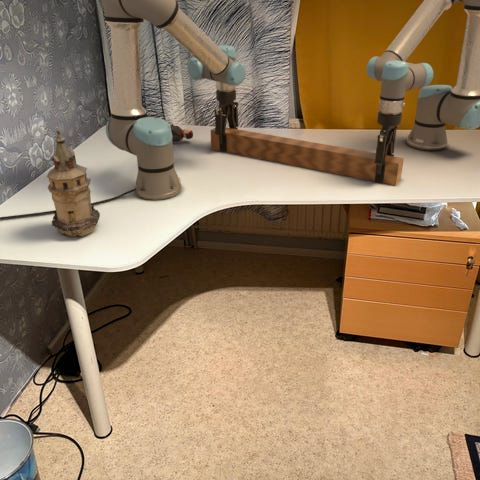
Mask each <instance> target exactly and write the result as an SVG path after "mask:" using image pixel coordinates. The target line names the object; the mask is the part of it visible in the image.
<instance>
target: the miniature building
mask: <svg viewBox="0 0 480 480" xmlns="http://www.w3.org/2000/svg"><path fill="white" fill-rule="evenodd" d="M56 134H57V136H56V138H55V140H54V141H55V142H56V147H55V154H54V156H52V157H51V161H52V162H53V165H54V167H53V168H51V169H50V170H49V171H48V173H47V174H46V178H47V179H48V182H49V184H48V186H47V190H48V191H49V193H50V194H51V200H52V201H53V205H54V210H56V211H55V212H54V213H53V217H52V220H51V223H52V225H51V227H54V228H56V229H58V230H59V231H60V234H63V235H64V234H65V235H66V236H69V237H77V236H80V237H83V236H87V235H88V234H90V233H93V232H94V231H95V229H96V226H97V225H98V223H99V220H100V216H101V213H100V212H99V210H98V209H96V208H95V205H94V204H93V205H91V203H92V201H91V200H92V199H91V198H92V197H91V192H92V191H91V188H90V184H91V178H89V177H88V174H87V167H85V166H84V165H83V166H82V165H80V164H77V160H76V154H75V151H74V150H70V149H69V147H68V145H67V143H66V138H65V137H64V136H63V135H61V130H60V129H56Z"/></svg>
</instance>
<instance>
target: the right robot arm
mask: <svg viewBox="0 0 480 480" xmlns="http://www.w3.org/2000/svg"><path fill="white" fill-rule="evenodd" d="M457 2H464V7H463V10H464V11H465V13H466V14H467V17H466V23H465V30H464V36H463V42H462V48H461V55H460V61H459V65H458V73H457V79H456V85H455V86H453V87H452V86H451V85H448V84H432V85H430V84H431V82H432V81H433V78H434V70H433V67H432V66H431V65H430V64H429V63H426V62H418V63H412V62H407V59H408V58H409V57H410V56H411V55H412V53H413V52H414V50H416V48H417V47H418V45H419V44H420V43H421V42H422V40H423V39H424V37H425V36H426V35H427V34H428V32H429V31H430V30H431V28H433V26H434V25H435V23H436V22H437V20H439V18H440V17H441V15H442V14H443V13H444V11H447V10H449V9H450V8H451V7H452V6H453V5H454V4H455V3H457ZM366 74H367V76H368V78H370V79H372V80H374V81H377V82H381V85H380V95H379V101H378V109H377V110H378V112H377V120H376V123H377V124H378V125H380V126H381V129H380V131H379V134H378V135H377V143H376V150H375V153H376V157H375V162H374V163H375V164H377V165H376V173H375V181H376V182H375V181H374V182H375V183H380V182H381V183H380V184H384V183H383V178H384V171H385V158H386V155H389V156H395V154H394V153H395V144H396V136H397V130H398V126H400V125H401V124H402V119H403V113H402V112H403V109H404V107H405V106H406V103H405V101H404V100H405V96H406V95H405V94H406V92H407V91H412V90H416V89H419V91H418V92H419V93H418V95H417V102H416V109H415V117H414V123H413V125H412V128H411V130H410V131H409V134H408V135H407V139H406V144H407V145H408V147H411V148H413V149H416V150H420V151H421V150H422V151H429V152H431V151H434V152H435V151H443V150H445V149H446V148H447V147H448V136H447V130H446V125H449V126H452V127H456V128H459V129H461V130H468V131H473V130H475V129H477V128H480V0H423V1H422V3H421V4H420V5H419V6H418V8H417V9H416V10H415V12H414V13H413V14H412V15H411V17H410V18H409V20H408V21H407V22H406V23H405V25H404V26H403V27H402V28H401V30H400V31H399V33H398V34H397V35H396V37H395V38H394V39H393V40H392V42H390V44H389V45H388V47H387V48H386V49H385V50H384V52H383V54H381V56H379V55H378V56H373V57H371V58H370V59H369V61H368V62H367V65H366Z"/></svg>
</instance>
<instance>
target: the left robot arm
mask: <svg viewBox="0 0 480 480" xmlns="http://www.w3.org/2000/svg"><path fill="white" fill-rule="evenodd" d="M96 1H97V4H98V5H99V7H100V9H101V10H102V11H104V12H103V13H104V22H105V24H107V25H108V26H109V28H110V42H111V57H112V73H113V75H112V76H113V90H114V91H113V92H114V107H113V108H112V109H111V110H110V117H108V120H107V122H106V124H105V135H106V138H107V140H108V141H109V142H110V144H112V145H113V146H114V147H116V148H117V149H119V150H121V151H125V152H127V153H129V154H130V155H134V156H135V157H136V161H137V175H136V179H135V184H134V188H133V189H130V190H128V191H125V192H124V193H121V194H119V195H117V196H112V197H110V198H107V199H103V200H99V201H95V202H91V205H93V204H94V206H95V205H99V204H104V203H107V202H110V201H113V200H116V199H120V198H123V197H124V196H126V195H128V194H131V193H135V195H136V196H137V197H138V198H141V199H143V200H148V201H161V200H168V199H171V198H174V197H176V196H178V195H179V194H180V193H181V192H182V181H181V180H182V179H181V178H180V177H179V176H178V173H177V171H176V169H175V161H174V160H175V159H174V158H175V157H174V146H173V145H174V143H172V132H171V127H170V123H169V122H168V121H167V120H165V119H163V118H161V117H153V116H148V111H147V109H146V108H145V107H144V106H143V99H142V97H143V96H142V75H141V73H142V72H141V49H140V48H141V47H140V28H141V27H142V26H143V24H144V23H145V21H147V22H149V23H150V24H152V25H153V26H154V27H155V28H156V29H158V30H164V31H165V32H166V33H167V34H168V35H169V36H170V37H171V38H173V39H174V40H175V41H176V42H177V43H178V44H180V45H181V46H182V47H183V48H184V49H185V50H186V51H187V52H188V53H190V55H192V58H190V59H189V60H188V61H187V65H186V66H187V73H188V75H189V77H190V78H191V79H192V80H194V81H198V80H199V81H201V80H209V81H214V82H215V89H216V90H215V99H216V101H217V102H218V108H214V110H213V112H214V128H215V134H216V135H219V144H220V151H219V152H223V151H224V152H223V153H227V152H226V151H227V149H226V135H225V129H226V127H227V124H228V128H233V129H238V130H239V128H238V127H239V108H238V107H239V101H236V100H237V90H236V88H237V86H239V85H241V84H242V83H243V82H244V80H245V78H246V74H247V72H246V71H247V70H246V68H245V66H244V65H243V63H241V62H238V61H237V60H236V59H237V58H236V49H235V47H234V46H232V45H228V44H227V45H223V44H222V45H217V43H215V42H214V41H213V40H212V39H211V38H210V37H209V36H208V35H207V34H206V33H205V32H204V31H203V30H202V29H201V28H200V27H199V26H198V25H197V24H196V23H195V22H194V21H193V20H192V19H191V18H190V17H189V16H187V14H185V12H184V11H183V10H181V8H180V2H179V1H177V0H96ZM144 20H145V21H144ZM55 211H56V209H54V210H47V211H39V212H31V213H24V214H15V215H7V216H0V220H9V219H16V218H25V217H26V218H27V217H33V216H34V217H35V216H42V215H48V214H55V213H54V212H55Z"/></svg>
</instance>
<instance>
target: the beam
mask: <svg viewBox="0 0 480 480" xmlns="http://www.w3.org/2000/svg"><path fill="white" fill-rule="evenodd" d="M225 135H226V149H227V151H226V152H224V151H222V152H223V153H229V154H233V155H238V156H243V157H248V158H253V159H259V160H263V161H268V162H269V161H270V162H273V163H278V164H283V165H290V166H295V167H299V168H305V169H310V170H315V171H319V172H325V173H330V174H334V175H341V176H344V177H345V176H346V177H349V178H356V179H361V180H364V181H365V180H366V181H370V182H375V183H377V182H376V181H375V173H376V165H377V164H375V163H374V162H375V157H376V152H372V151H365V150H360V149H354V148H347V147H342V146H336V145H331V144H324V143H319V142H314V141H307V140H301V139H295V138H290V137H285V136H284V137H283V136H278V135H273V134H267V133H261V132H256V131H250V130H244V129H239V128H238V129H233V128H229V127H227V126H226V129H225ZM210 149H211V150H212V151H217V152H221V151H220V144H219V135H216V134H215V127H214V128H212V129H210ZM404 160H405V158H404V157H400V156H395V155H394V156H389V155H386V158H385V171H384V178H383V183H381V182H379V183H380V184H385V185H390V186H391V185H392V186H397V185H398V184H399V182H400V181H401V180H402V174H403V167H404Z"/></svg>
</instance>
